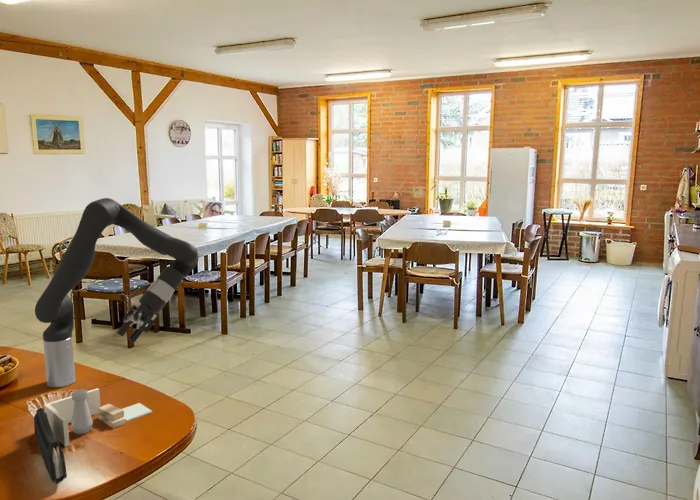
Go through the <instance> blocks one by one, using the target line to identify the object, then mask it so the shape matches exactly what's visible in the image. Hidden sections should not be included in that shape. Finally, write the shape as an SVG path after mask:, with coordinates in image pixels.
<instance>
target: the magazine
mask: <svg viewBox="0 0 700 500" xmlns="http://www.w3.org/2000/svg"><path fill="white" fill-rule="evenodd" d="M33 416H34V417H33V423H34V424H33V425H34V427H33V428H34V437H35V439H36V443H37V446H38V448H39V452H40V455H41V458H42V459H41V460H42V461H43V464H44V466H45V469H46V471H47V473H48V476H49V478H50V480H51V481H52V482H53V483H55V484H59V483H61V482H63V481H64V480H65V479H67V476H68V474H67V467H66V459H65V453H64V451H63V449H62V447H60V441H59V440H57V439H56V438H55V437H54V434H53V432H52V429H51V427H50V424H49V421H48V418H47V414H46V413H45V409H44V407H42V408H38V409H36V413H35V414H34V415H33Z"/></svg>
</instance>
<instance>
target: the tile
mask: <svg viewBox="0 0 700 500" xmlns="http://www.w3.org/2000/svg"><path fill="white" fill-rule="evenodd" d="M121 409H122V410H124V418H125V421H126V422H130V421H133V420H135V419H138V418H141V417H145V416H146V415H149V414H152V413H153V410H151V409H150V408H149V407H147V406H146V405H144V404H142V403H140V402H137V403H135V404H132V405H129V406H126V407H123V408H121Z"/></svg>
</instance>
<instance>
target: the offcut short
mask: <svg viewBox="0 0 700 500" xmlns="http://www.w3.org/2000/svg"><path fill="white" fill-rule="evenodd" d="M122 409H123V408H119V407H117V406H115V405H113V404H110V403H107V404H105V405H101V407H99V408H98V413H99V415H101V416H103V417H105V418H107V419H110V420H112V421H116V420H118V419H120V418H122V417H124V410H122ZM98 413H97V414H98Z"/></svg>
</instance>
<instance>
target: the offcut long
mask: <svg viewBox="0 0 700 500" xmlns="http://www.w3.org/2000/svg"><path fill="white" fill-rule="evenodd" d="M97 418H98V420H100V421H102V422H103V423H104V424H105V425H107V426H109V427H110V428H112V429H116V428H119V427H121V426H124V425H126V424H127V423H126V422H127V421H125V418H124V417H122V418H120V419H118V420H116V421H112V420H110V419H107V418H105V417H103V416H101V415H99V413H97Z"/></svg>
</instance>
